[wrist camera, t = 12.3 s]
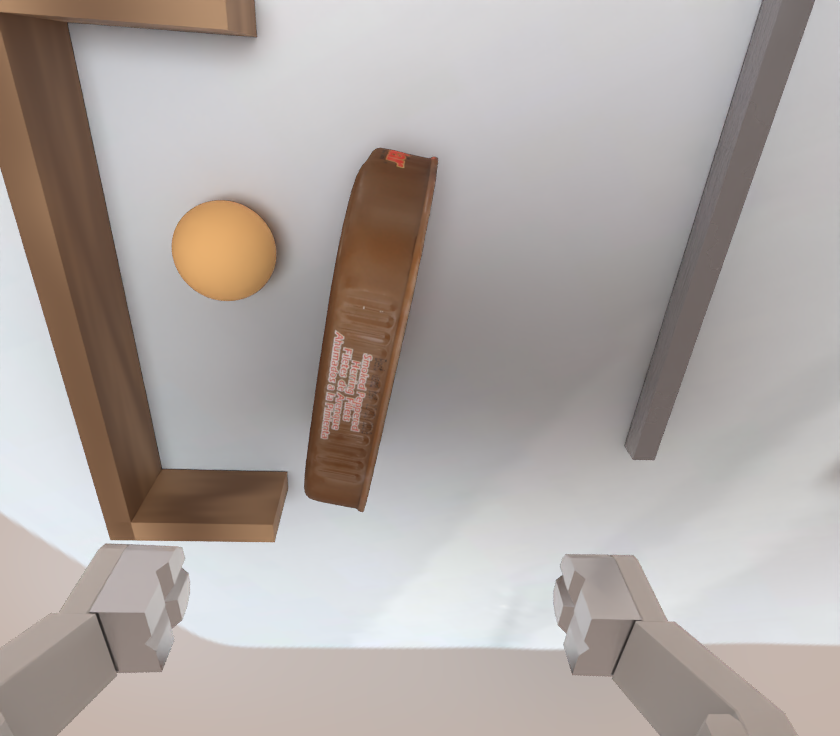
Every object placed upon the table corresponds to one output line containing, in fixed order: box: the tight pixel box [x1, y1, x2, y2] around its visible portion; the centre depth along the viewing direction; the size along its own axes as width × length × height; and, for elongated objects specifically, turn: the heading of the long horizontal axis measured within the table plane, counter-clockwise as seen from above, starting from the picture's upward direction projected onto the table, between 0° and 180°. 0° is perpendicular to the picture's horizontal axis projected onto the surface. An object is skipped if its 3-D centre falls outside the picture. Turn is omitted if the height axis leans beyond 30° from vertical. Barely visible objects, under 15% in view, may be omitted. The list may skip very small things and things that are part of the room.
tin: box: [304, 148, 438, 512], centre depth 22 cm, size 15×3×8 cm, turn 168°
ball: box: [172, 200, 276, 301], centre depth 22 cm, size 4×4×4 cm
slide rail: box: [625, 0, 815, 460], centre depth 22 cm, size 1×32×1 cm, turn 176°
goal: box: [0, 0, 288, 542], centre depth 23 cm, size 8×23×4 cm, turn 176°
